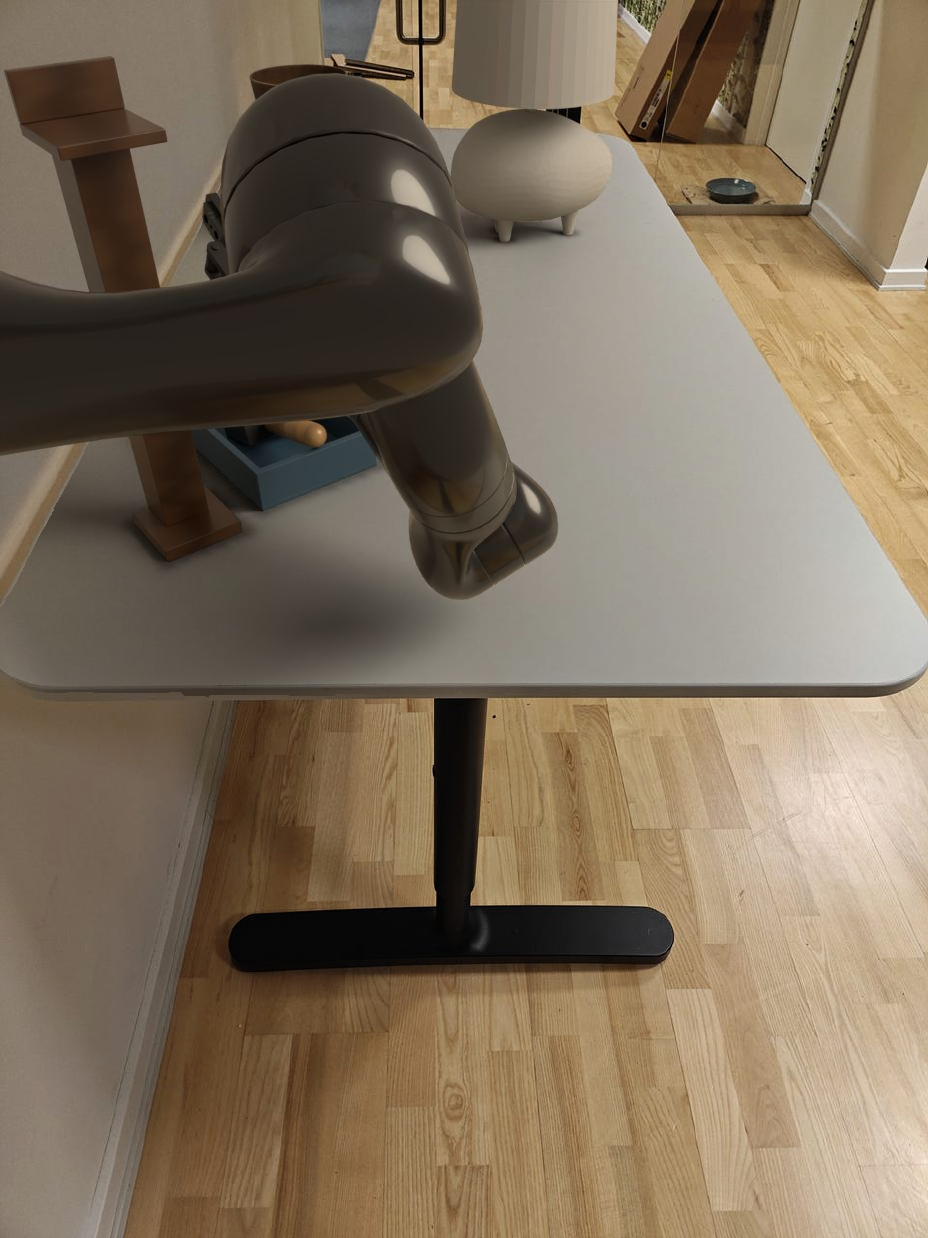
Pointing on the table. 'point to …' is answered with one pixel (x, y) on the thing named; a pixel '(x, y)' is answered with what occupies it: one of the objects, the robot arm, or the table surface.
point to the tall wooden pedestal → (117, 262)
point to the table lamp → (532, 107)
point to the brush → (280, 433)
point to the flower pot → (286, 75)
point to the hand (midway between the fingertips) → (259, 190)
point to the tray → (287, 461)
